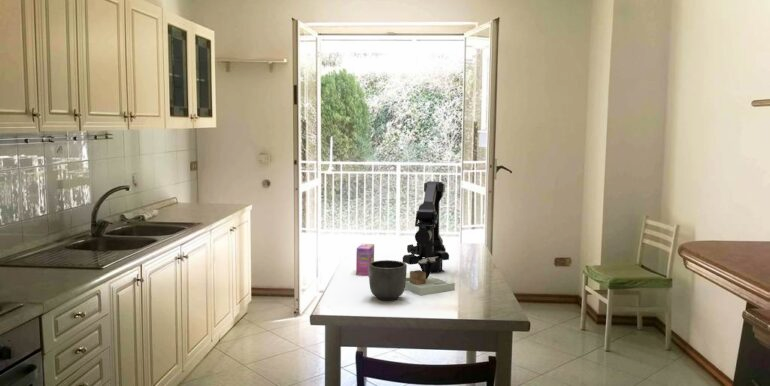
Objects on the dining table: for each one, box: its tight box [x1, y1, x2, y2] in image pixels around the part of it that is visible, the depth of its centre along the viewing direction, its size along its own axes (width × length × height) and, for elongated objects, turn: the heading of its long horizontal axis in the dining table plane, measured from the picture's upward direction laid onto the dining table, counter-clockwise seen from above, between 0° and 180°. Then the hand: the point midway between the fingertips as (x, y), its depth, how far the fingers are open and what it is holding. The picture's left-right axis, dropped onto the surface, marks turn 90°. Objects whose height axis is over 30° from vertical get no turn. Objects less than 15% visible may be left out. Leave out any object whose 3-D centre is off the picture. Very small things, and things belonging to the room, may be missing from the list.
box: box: [355, 243, 375, 277], centre depth 266 cm, size 10×6×12 cm, turn 168°
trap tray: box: [405, 272, 456, 296], centre depth 246 cm, size 16×25×3 cm, turn 30°
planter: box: [368, 259, 408, 302], centre depth 226 cm, size 14×14×13 cm
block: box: [409, 269, 426, 285], centre depth 241 cm, size 4×4×4 cm
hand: (425, 278), depth 244 cm, fingers closed
